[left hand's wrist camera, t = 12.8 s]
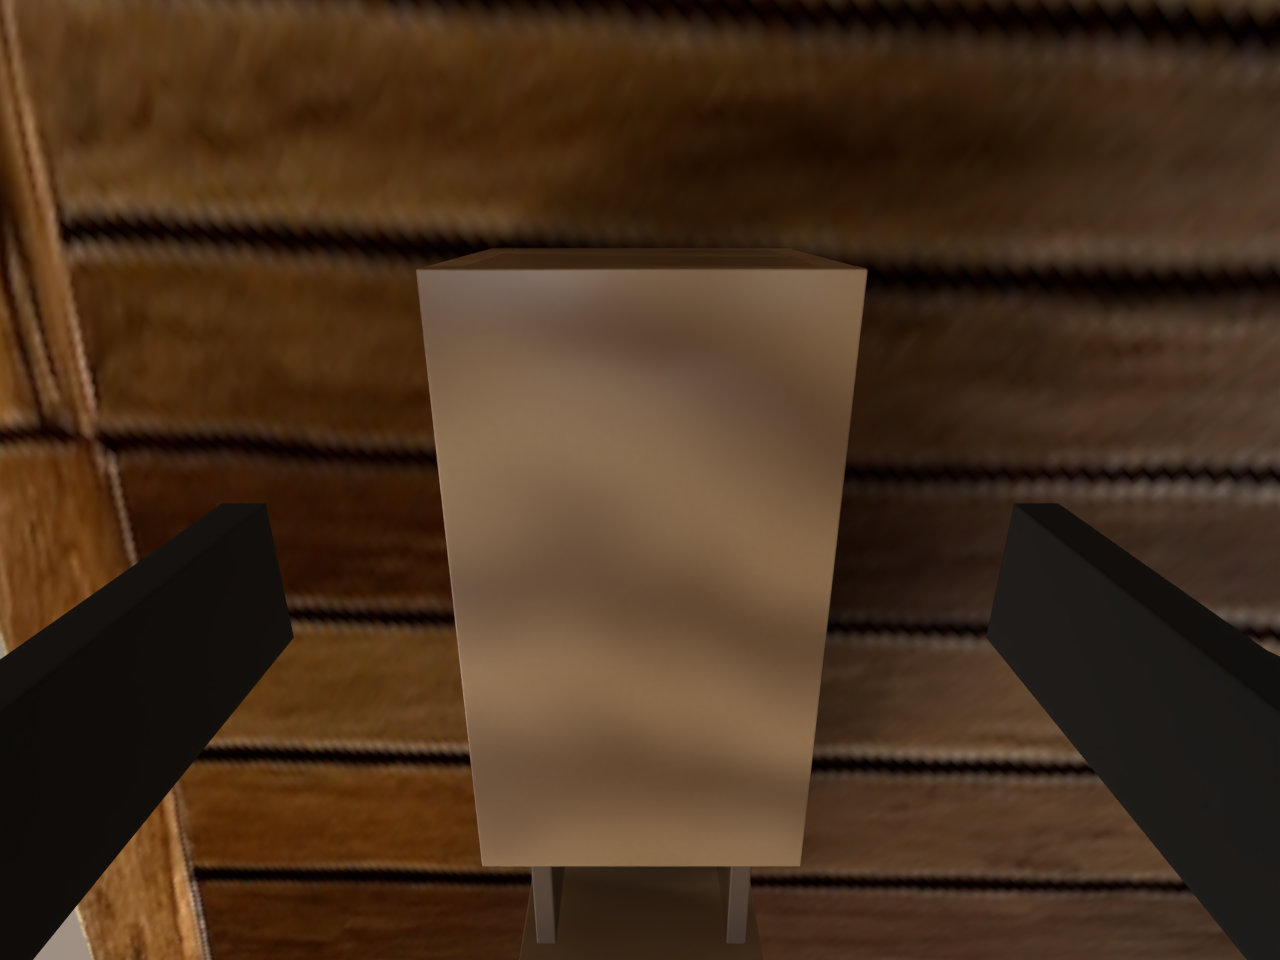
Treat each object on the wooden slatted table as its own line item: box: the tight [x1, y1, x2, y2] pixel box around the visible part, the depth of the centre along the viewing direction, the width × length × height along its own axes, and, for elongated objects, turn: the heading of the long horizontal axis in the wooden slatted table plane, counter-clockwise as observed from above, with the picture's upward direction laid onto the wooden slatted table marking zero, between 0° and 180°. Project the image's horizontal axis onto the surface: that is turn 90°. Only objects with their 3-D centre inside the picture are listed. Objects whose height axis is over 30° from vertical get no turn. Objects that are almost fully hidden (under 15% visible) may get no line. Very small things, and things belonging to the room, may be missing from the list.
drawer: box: [519, 866, 763, 960], centre depth 30 cm, size 25×10×8 cm, turn 0°
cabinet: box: [416, 248, 867, 866], centre depth 26 cm, size 21×12×10 cm, turn 0°
